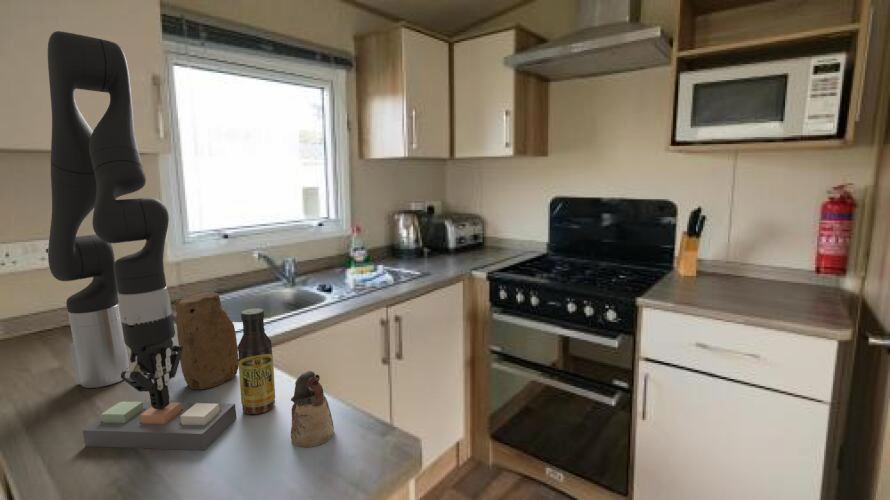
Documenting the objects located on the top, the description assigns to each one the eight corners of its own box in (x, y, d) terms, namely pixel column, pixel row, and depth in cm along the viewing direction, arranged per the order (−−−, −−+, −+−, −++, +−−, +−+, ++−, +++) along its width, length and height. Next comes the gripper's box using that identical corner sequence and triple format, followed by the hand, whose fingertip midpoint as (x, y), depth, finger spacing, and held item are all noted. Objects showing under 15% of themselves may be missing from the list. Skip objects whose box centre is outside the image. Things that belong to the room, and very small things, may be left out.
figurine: (318, 420, 87) (312, 360, 84) (342, 433, 82) (337, 369, 80) (283, 438, 81) (277, 374, 79) (307, 453, 77) (301, 385, 75)
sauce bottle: (243, 419, 88) (231, 318, 84) (241, 405, 93) (229, 310, 90) (280, 410, 91) (270, 312, 87) (275, 397, 96) (265, 304, 93)
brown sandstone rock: (192, 395, 98) (179, 303, 94) (181, 384, 103) (169, 297, 100) (244, 377, 105) (234, 292, 102) (231, 368, 111) (221, 287, 107)
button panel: (85, 446, 81) (82, 430, 80) (129, 415, 91) (126, 401, 90) (204, 450, 78) (202, 433, 78) (236, 418, 88) (234, 403, 88)
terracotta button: (142, 425, 82) (140, 414, 82) (159, 412, 86) (158, 402, 86) (165, 426, 82) (163, 415, 81) (181, 412, 86) (180, 402, 86)
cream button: (181, 426, 81) (180, 415, 81) (197, 413, 86) (196, 403, 85) (205, 427, 81) (204, 416, 81) (220, 413, 85) (218, 403, 85)
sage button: (103, 424, 83) (101, 414, 83) (122, 411, 87) (120, 401, 87) (125, 424, 82) (124, 414, 82) (144, 411, 87) (142, 402, 86)
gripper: (153, 303, 87) (167, 389, 90) (95, 327, 74) (112, 427, 78) (191, 303, 87) (203, 389, 90) (138, 327, 74) (154, 427, 77)
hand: (161, 407), depth 84 cm, fingers closed
